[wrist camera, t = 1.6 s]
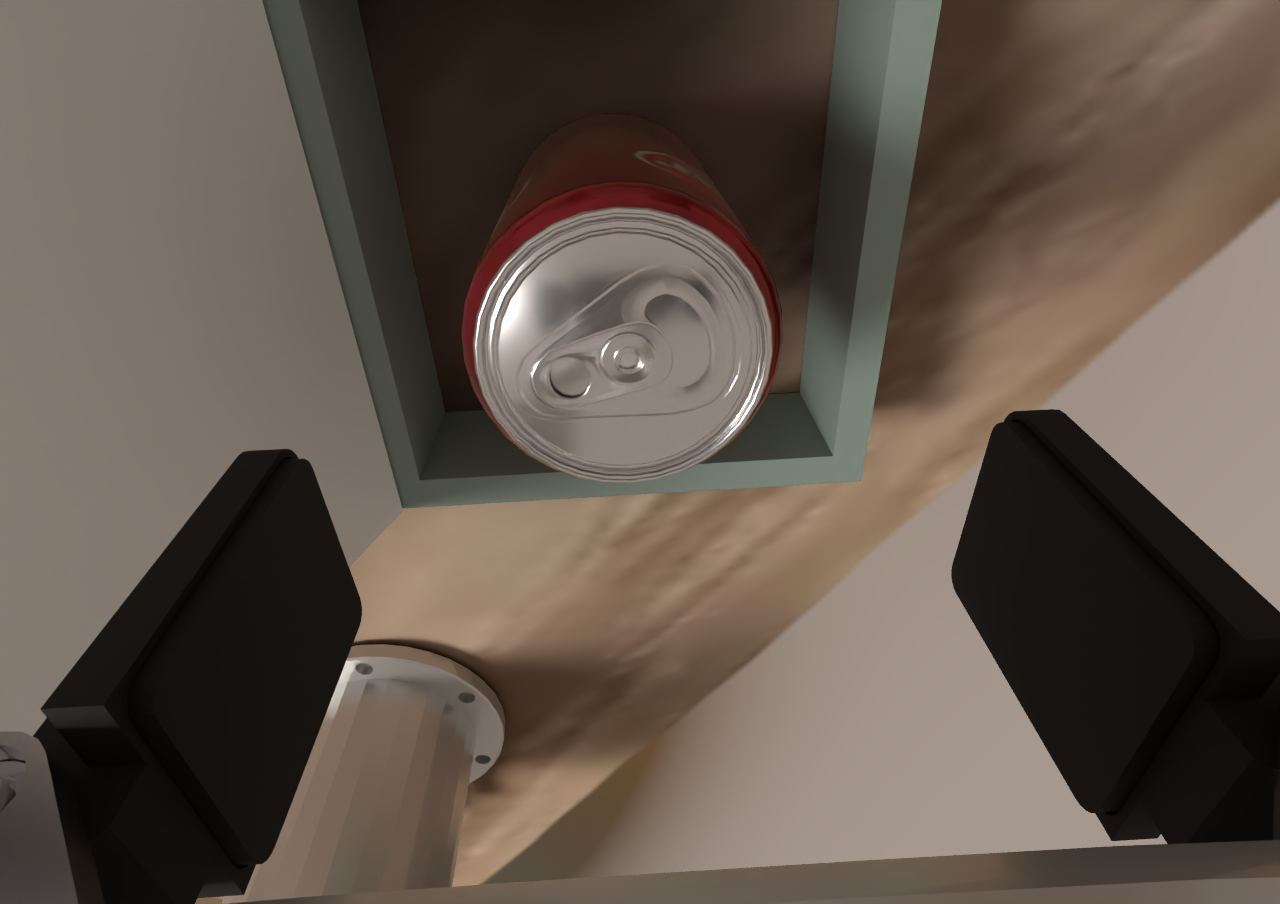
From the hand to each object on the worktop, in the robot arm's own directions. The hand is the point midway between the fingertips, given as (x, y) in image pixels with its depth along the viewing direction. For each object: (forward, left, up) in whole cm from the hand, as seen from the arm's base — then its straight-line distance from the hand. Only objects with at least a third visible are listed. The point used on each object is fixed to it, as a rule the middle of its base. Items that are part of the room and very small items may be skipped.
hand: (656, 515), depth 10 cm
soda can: (0, 0, -18) cm, 18 cm away
